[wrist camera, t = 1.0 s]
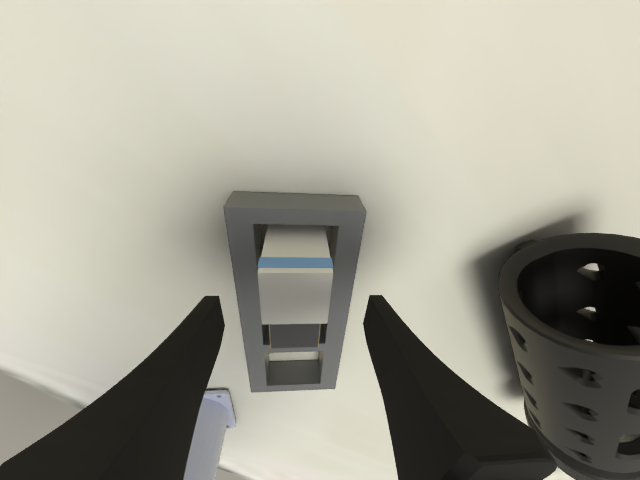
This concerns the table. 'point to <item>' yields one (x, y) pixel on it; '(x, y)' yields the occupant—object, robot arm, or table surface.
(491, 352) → the table surface
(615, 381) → the muzzle brake
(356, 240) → the socket board
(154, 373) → the robot arm
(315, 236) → the grey plug
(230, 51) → the table surface
